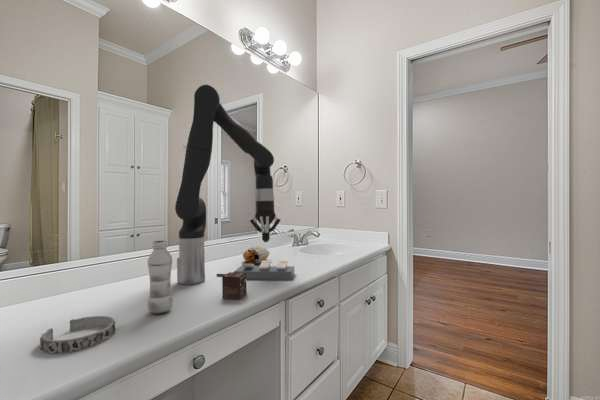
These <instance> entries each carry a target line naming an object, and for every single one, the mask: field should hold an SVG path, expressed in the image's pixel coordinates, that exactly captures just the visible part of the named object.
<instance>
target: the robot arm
mask: <svg viewBox="0 0 600 400" xmlns="http://www.w3.org/2000/svg"><path fill="white" fill-rule="evenodd" d="M193 94H194V96H193V117H192V118H193V119H192V122H191V127H190V130H189V134H188V137H187V138H188V139H187V143H186V149H185V155H184V163H183V168H182V169H183V170H182V176H181V182H180V187H179V191H178V193H177V198H176V201H175V206H174V209H175V213H176V215H177V217H178V218H179V219H180V220H182V225H181V228H180V229H179V230H178V252H179V253H178V256H179V257H177V258H176V270H177V271H176V278H177V280H176V281H177V283H176V284H181V285H186V286H188V285H197V284H201V283H204V282H205V280H206V269H205V268H206V267H205V266H206V265H205V263H206V260H205V259H206V257H205V254H206V252H205V231H206V228H207V227H206V226H207V206H206V203H205V201H204V200H203V199H204V198H201V197H200V193H201V185H202V182H203V180H204V178H205V176H206V175H207V171H208V170H209V167H210V164H211V160H212V159H211V158H212V152H213V137H214V132H213V131H214V123H216V124H217V126H219V127H220V129H222V130H223V131H224V132H225V133H226V135H227V136H229V138H230V139H231V140H232V141H233V143H235V144H236V145H237V146H238V147H239V148H240V149H241V151H243V152H244V153H245V154H248V155H249V156H250V157H252V158H253V167H254V173H255V175H254V176H255V215H254V218H252V219H250V221H249V222H250V223H251V225H252V226H253V227H254V228H255V230H256V231H257V232H260V233H261V236H262V237H261V240H262V242H263V243H268V242H269V241H270V239H271V238H270V237H271V235H270V234H271V232H273V231H275V229H276V228H277V226H279V224H280V223H281V218H279V217H278V216H277V215H276V212H275V194H274V193H275V192H274V179H273V176H272V174H271V167H272V166H273V164H274V163H275V158H274V155H273V154H272V152H271V151H270V150H269V149H268V148H267V147H266V146H264V145H263V144H262V143H261V142H259V141H258V140H257V139H256V138H255V136H253V134H252V133H251V132H250V131H249V130H248V129H247V128H246V127H245V126H244V125H242V124H241V123H240V122H238V121H237V120H236V119H235V118H234V117H232V116H231V115H230V114H229V112H228V111H226V108H224V106H223V105H222V103H221V101H220V99H221V98H220V95H219V92H218V90H217V89H216V87H215V86H213V85H210V84H202V85H199V87H197V88H196V90H195V92H194V93H193ZM273 222H274V223H273ZM258 223H259V224H260V225H259V224H258ZM272 223H273V225H272V226H271V224H272Z"/></svg>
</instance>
